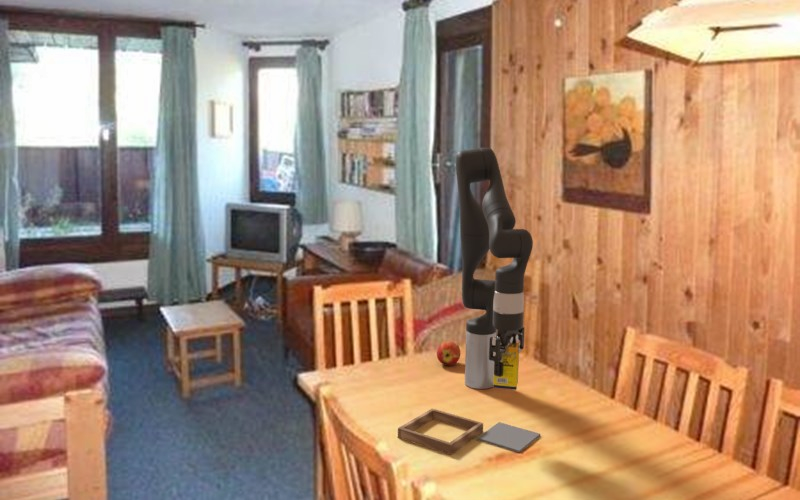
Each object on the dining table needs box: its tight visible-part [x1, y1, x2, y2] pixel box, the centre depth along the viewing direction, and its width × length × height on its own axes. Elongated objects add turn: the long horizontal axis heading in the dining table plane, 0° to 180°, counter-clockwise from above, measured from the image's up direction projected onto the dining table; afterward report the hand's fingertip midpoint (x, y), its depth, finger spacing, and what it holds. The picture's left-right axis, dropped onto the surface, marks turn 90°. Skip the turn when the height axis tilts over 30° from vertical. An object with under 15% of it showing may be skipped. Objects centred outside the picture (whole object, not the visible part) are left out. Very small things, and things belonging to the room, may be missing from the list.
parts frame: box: [397, 408, 484, 455], centre depth 178 cm, size 16×16×2 cm
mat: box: [476, 421, 541, 454], centre depth 176 cm, size 12×12×1 cm
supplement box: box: [493, 341, 520, 390], centre depth 173 cm, size 6×6×11 cm
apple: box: [436, 340, 461, 366], centre depth 232 cm, size 8×8×8 cm
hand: (506, 371), depth 173 cm, fingers closed on supplement box, 7 cm apart
